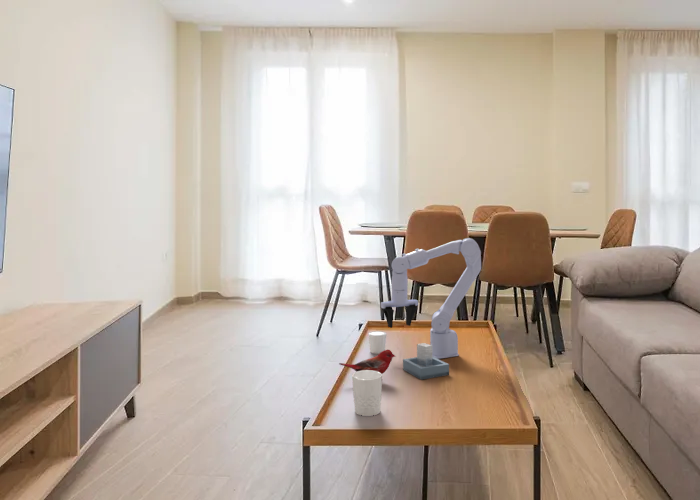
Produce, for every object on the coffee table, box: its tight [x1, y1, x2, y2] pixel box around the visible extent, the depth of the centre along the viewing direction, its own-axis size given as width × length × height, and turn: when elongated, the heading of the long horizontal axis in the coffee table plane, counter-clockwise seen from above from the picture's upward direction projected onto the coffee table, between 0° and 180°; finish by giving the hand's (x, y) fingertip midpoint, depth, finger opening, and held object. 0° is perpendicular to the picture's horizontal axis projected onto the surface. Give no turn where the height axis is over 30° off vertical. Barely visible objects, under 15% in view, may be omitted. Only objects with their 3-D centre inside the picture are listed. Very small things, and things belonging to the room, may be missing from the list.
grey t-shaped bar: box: [416, 342, 433, 367], centre depth 168 cm, size 5×6×8 cm
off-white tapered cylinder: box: [368, 330, 387, 354], centre depth 193 cm, size 7×7×7 cm
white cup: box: [351, 370, 383, 417], centre depth 136 cm, size 8×8×10 cm
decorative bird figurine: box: [338, 349, 397, 375], centre depth 159 cm, size 3×18×10 cm, turn 94°
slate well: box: [402, 356, 450, 381], centre depth 168 cm, size 10×11×4 cm
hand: (399, 326), depth 188 cm, fingers open, 7 cm apart
